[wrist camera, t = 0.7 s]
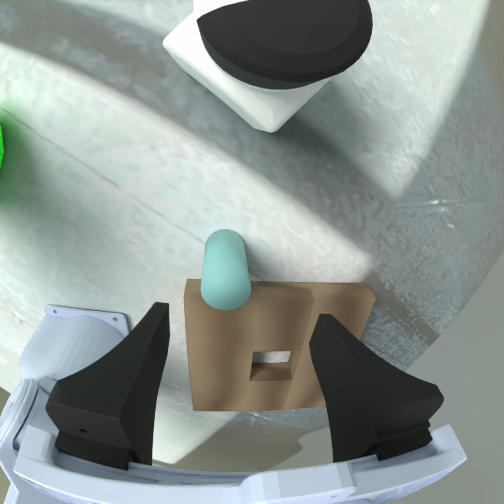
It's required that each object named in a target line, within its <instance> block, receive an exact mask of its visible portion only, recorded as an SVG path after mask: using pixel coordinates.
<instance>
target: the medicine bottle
mask: <svg viewBox="0 0 504 504" xmlns="http://www.w3.org/2000/svg"><path fill="white" fill-rule="evenodd" d="M372 26H373V22H372V13H371V8H370V5H369V2H368V0H194V12H193V13H192V14H191V15H189V16H188V17H187V18H186V19H185V20H184V21H183V22H182V23H181V24H180V25H178V26H177V27H176V28H175V29H174V30H173V31H172V32H171V33H170V34H169V35H168V36H167V37H166V38H165V40H164V41H163V46H164V47H165V49H166V50H167V51H168V52H169V53H170V54H171V56H172V57H173V58H174V59H175V60H176V62H177V63H178V64H179V65H180V66H181V68H182V69H183V70H184V71H185V72H187V73H188V74H189V75H191V76H192V77H193V78H194V79H196V80H197V81H198V82H200V83H201V84H202V85H203V86H205V87H206V88H207V89H208V90H209V91H211V92H212V93H213V94H214V95H216V96H217V97H218V98H219V99H220V100H222V101H223V102H224V103H225V104H226V105H228V106H229V107H230V108H231V109H232V110H233V111H235V112H236V113H237V114H238V115H239V116H240V117H241V118H243V119H244V120H245V121H246V122H247V123H248V124H249V125H251V126H252V127H253V128H255V129H258V130H262V131H266V132H275V131H277V130H278V129H279V128H280V127H281V126H282V125H283V124H284V123H285V122H286V121H287V120H288V119H289V118H290V117H291V116H292V115H293V114H294V113H295V112H296V111H298V110H299V109H300V108H301V107H302V106H303V105H304V104H305V103H306V102H307V101H308V100H309V99H310V98H311V97H312V96H313V95H314V94H316V93H317V92H318V91H319V90H320V89H321V88H322V87H323V86H324V85H325V84H326V83H327V82H329V81H330V80H331V79H332V78H333V77H334V76H335V75H337V74H339V73H341V72H343V71H345V70H346V69H347V68H349V67H350V66H352V65H353V64H354V63H355V62H356V61H357V60H358V59H359V58H360V57H361V56H362V54H363V53H364V52H365V50H366V48H367V46H368V44H369V41H370V38H371V34H372Z"/></svg>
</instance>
